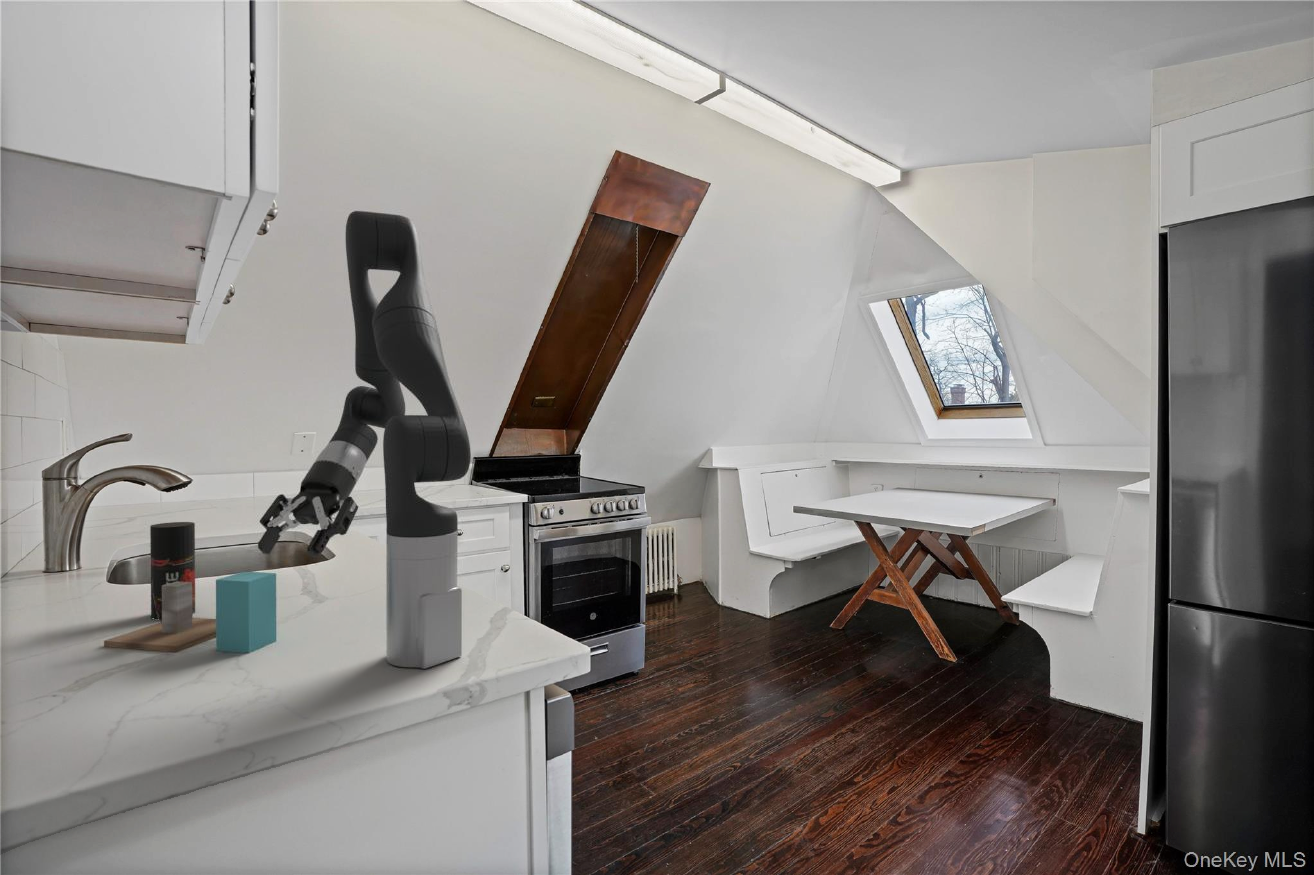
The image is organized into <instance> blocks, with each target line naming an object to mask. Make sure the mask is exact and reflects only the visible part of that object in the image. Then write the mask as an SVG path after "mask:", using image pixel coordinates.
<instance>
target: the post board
mask: <svg viewBox="0 0 1314 875" xmlns="http://www.w3.org/2000/svg"><path fill="white" fill-rule="evenodd" d="M214 638H216V618H207V617H205V618H203V617H193V614H192V582H178V581H177V582H173V583H170V584H166V585H162V620H161V622H157V623H154V624H151V625H148V626H145V627H142V628H139V629H136V630H133V631H130V632H127V633H122V634H120V635H118V636H115V637H111V638H108V639H106V640H103V647H105V648H106V647H107V648H108V647H109V648H121V649H132V650H147V651H148V650H149V651H159V652H175V653H177V652H180V651H183V650H186V649H188V648H190V647H193V646H196V645H199V644H201V643H204V642H206V641H208V640H209V641H210V640H211V639H214Z"/></svg>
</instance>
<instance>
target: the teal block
mask: <svg viewBox="0 0 1314 875" xmlns="http://www.w3.org/2000/svg"><path fill="white" fill-rule="evenodd" d="M215 619H216V637H215V639H216V640H215V642H216V644H215V648H216V650H215V651H217V652H230V653H231V652H232V653H233V652H234V653H243V654H250V653H252V652H254V651H257V650H259V649H261V648H264V647H266V646H267V645H268V646H269V645H270V644H273V643H275V642H277V573H275V572H258V571H242V572H239V573H238V572H237V573H235V574H232V575H227V576H225V577H222V578H217V579H215Z"/></svg>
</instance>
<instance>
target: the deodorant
mask: <svg viewBox="0 0 1314 875" xmlns="http://www.w3.org/2000/svg"><path fill="white" fill-rule="evenodd" d="M195 526H196V523H195V522H193V521H174V522H162V523H161V522H160V523H155V524H151V525H150V529H149V532H150V535H149V536H150V537H149V538H150V543H149V544H150V618H151V619H152V618H154V619H153V620H155V619H159V620H158V621H160V620H161V621H162V585H166V584H170V583H173V582H177V581H178V582H192V615H194V614H195V613H196V542H195V541H196V533H195V532H196V531H195V530H196V528H195ZM193 613H194V614H193Z"/></svg>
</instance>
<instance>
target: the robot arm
mask: <svg viewBox="0 0 1314 875" xmlns="http://www.w3.org/2000/svg"><path fill="white" fill-rule="evenodd" d="M420 247H421V246H420V242H419V236H418V232H417V229H416V226H415V224H414V223H413V221H412V220H411V219H410V218H408V217H406V216H404V215H400V214H391V213H384V212H374V211H365V210H354V211H352V212H350V214H348V217H347V219H346V224H345V252H346V253H345V254H346V264H347V272H348V282H349V292H350V299H351V306H352V313H353V319H354V320H353V321H354V332H355V333H354V335H355V338H354V340H355V347H354V348H355V349H354V352H355V353H354V358H355V361H354V364H355V365H354V366H355V370H354V371H355V374H356V376H357V377H358V379H359V380H361V381H363V382H365V383H367V384H369V385H371V386H372V387H370V386H366V385H365V386H364V385H359V386H356V387H354V388H352V389H351V390H349V392H348V393H346V396H345V400H344V405H343V410H342V414H341V418H340V422H339V423H338V427H337V429H336V431H335V432H334V434H333V436H332V437H331V438H330V440H329V441H328V443H327V444H326V446H325V447H324V448H323V449H322V450H321V452H320V453H319V455H318V456H317V457H316V459H315V460H314V462H313V464H312V465H311V467H310V468H309V470H308V471H307V473H306V474H305V476H304V478H303V479H302V481H301V482H300V489H299V492H298V493H297V495H295V496H294V497H293V498H292V497H291V498H290V497H286V496H285V495H284V494H283V493H282V494H278V495H277V496H276V498H275V499H274V500H273V502H272V503H271V505H270V506H269V507H268V508H267V510H266V511H265V513H264V514H263V516H262V517H261V518H260V520H259V523H260V524H261V526H262V527H263V528H265V529H266V530H265V532H264V533H263V535H262V536H261V538H260V539H259V541H258V544H257V546H258V547H257V548H258V549H259V551H260V552H261V553H262V554H264V555H269V554H271V552H272V551H273V549H274V547H275V546H276V544H277V543H278V541H279V540H280V538H281V536H282V534H284V533H285V532H286V531H288V530H289V529H296V527H299V526H300V525H309V524H310V525H315V526H317V525H319V526H320V529H317V530H316V531H315V534H314V535H313V537H312V539H311V541H310V542H309V543H308V544H309V545H307V547H306V550H307V552H308V553H309V554H310V556H311V557H312V558H313V557H315V558H316V557H318V556H319V555H320V554H322V553H323V552H324V550H325V548H326V547H327V545H328V544H329V541H330V539H332V538H333V537H335V536H336V535H339V536H344V535H346V534H347V532H348V530H349V528H350V526H351V524H352V522H353V520H354V518H355V516H356V514H357V512H358V509H359V505H358V504H357V503H356V502H355V500H354V499H353V497H352V496H350V495H351V493H352V492H353V490H354V488H355V486H356V485H357V483H358V482H359V479H360V477H361V476H362V474H363V472H364V469H365V467H366V464H367V463H368V460H369V459H370V457H371V455H372V454H373V451H375V448H376V447H377V443H378V440H379V439H378V434H377V433H376V431H375V430H374V429H373V428H372V427H376V428H381V429H384V430H383V431H384V432H383V437H382V438H383V440H382V451H383V452H382V453H383V456H382V457H383V468H384V469H383V470H384V486H385V487H384V488H385V490H384V491H385V518H386V519H385V520H386V528H385V530H386V539H385V540H386V543H385V544H386V559H385V560H386V563H385V564H386V567H385V568H386V569H385V570H386V574H385V575H386V577H385V578H386V579H385V580H386V581H385V582H386V583H385V585H386V587H385V589H386V590H385V592H386V595H385V596H386V598H385V599H386V603H385V604H386V609H385V610H386V621H385V623H386V626H385V627H386V630H385V631H386V661H387V663H388V664H390V665H392V666H396V667H400V668H401V667H403V668H420V669H423V670H424V669H429V668H430V667H434V666H437V665H440V664H442V663H445V662H448V661H450V660H453V659H456V658H458V657H462V655H463V653H462V650H463V649H462V647H463V646H462V641H463V636H462V635H463V634H462V632H463V631H462V630H463V629H462V628H463V627H462V626H463V623H462V621H463V620H462V618H463V614H462V612H463V610H462V608H463V590H462V588H461V587H459V586H458V533H459V532H458V530H459V529H458V528H459V527H458V525H459V523H458V522H459V520H458V519H459V518H458V514H457V512H456V511H455V510H454V509H453V508H451V507H447V506H443V505H439V504H436V503H433V502H430V501H427V500H426V499H424V498H423V497H421V496H419V495H418V494H417V491H416V485H415V484H416V483H420V484H421V483H437V482H438V483H440V482H453V481H457V480H461V479H462V478H464V477H465V476H466V475H467V474H468V472H469V470H470V469H469V468H470V465H471V459H472V458H471V456H472V455H471V444H470V443H471V442H470V438H469V434H468V430H467V426H466V424H465V421H464V416H463V415H462V412H461V409H460V406H459V403H458V401H457V398H456V395H455V392H454V390H453V387H452V384H451V381H450V378H449V374H448V370H447V366H446V362H445V357H444V352H443V348H442V343H441V338H440V333H439V330H438V326H437V320H436V319H435V315H434V312H433V308H432V305H431V300H430V297H429V293H428V289H427V285H426V280H425V274H424V269H423V268H424V267H423V262H422V261H423V260H422V255H421V254H422V253H421V248H420ZM369 270H377V271H392V272H398V273H399V276H398V278H397V279H396V281H395V283H394V284H393V285H392V287H390V288H389V290H388V291H387V292H386V293H385V294H384V296H383V297H382V299H380V301H379V302H378V300H377V297H376V296H375V294H374V293H373V292H374V291H373V290H372V287H371V284H370V280H369ZM400 383H401V384H400ZM401 385H402V386H404V387H405V388H406V389H407V391H408V392H410V393H411V394H413V396H414V397H415V398H416V400H418V401H419V403H420V404H421V405H422V407H423V409H424V410H425V412H426V414H425V415H423V414H420V415H419V414H418V415H417V414H416V415H414V414H408V415H407V414H406V401H405V397H404V393H403V390H402V387H401ZM371 426H372V427H371ZM336 513H337V514H336ZM291 514H292V516H293V517H294V519H291V518H290V517H289V516H290V515H291ZM335 514H336V515H335ZM334 515H335V518H334V520H333V517H332V516H334ZM283 522H285V523H283ZM282 523H283V524H282ZM280 524H282V525H280Z"/></svg>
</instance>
